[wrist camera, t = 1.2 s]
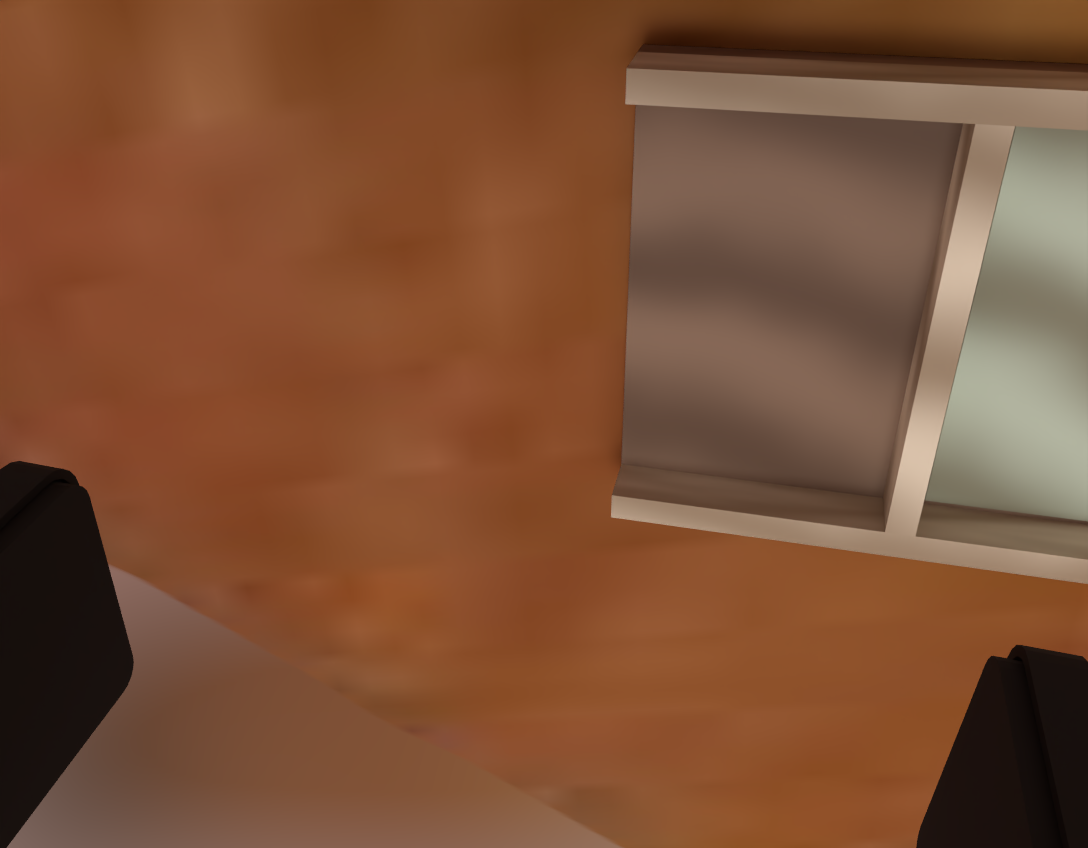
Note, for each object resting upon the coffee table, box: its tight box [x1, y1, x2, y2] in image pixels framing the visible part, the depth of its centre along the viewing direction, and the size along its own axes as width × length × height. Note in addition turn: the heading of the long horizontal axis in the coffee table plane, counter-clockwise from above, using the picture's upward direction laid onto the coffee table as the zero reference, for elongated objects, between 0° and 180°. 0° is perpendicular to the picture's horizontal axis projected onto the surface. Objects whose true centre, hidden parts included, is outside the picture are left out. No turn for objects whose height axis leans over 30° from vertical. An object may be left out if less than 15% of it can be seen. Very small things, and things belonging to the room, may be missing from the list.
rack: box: [611, 44, 1088, 584], centre depth 32 cm, size 16×20×3 cm
